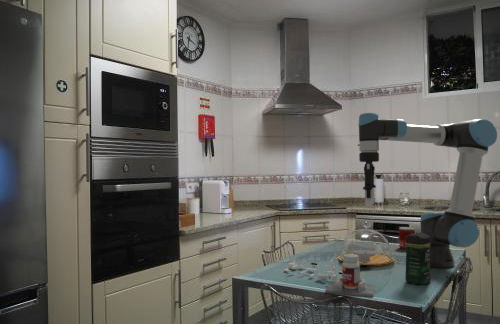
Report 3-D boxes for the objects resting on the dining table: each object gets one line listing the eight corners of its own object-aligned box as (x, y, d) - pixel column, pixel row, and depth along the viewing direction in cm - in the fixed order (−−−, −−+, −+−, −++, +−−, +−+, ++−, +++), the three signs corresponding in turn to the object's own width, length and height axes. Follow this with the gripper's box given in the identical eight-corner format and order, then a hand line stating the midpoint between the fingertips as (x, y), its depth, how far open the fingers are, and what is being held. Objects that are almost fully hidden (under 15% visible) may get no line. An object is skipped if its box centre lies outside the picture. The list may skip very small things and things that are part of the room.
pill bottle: (338, 287, 144) (338, 255, 144) (348, 283, 148) (348, 252, 148) (353, 290, 139) (353, 258, 140) (363, 287, 144) (362, 255, 144)
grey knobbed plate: (375, 287, 147) (374, 277, 147) (373, 297, 135) (373, 286, 135) (330, 283, 152) (330, 274, 152) (325, 292, 141) (325, 282, 141)
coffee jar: (424, 286, 146) (423, 235, 147) (402, 282, 152) (401, 233, 152) (434, 281, 153) (433, 232, 154) (413, 277, 159) (412, 230, 159)
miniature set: (360, 277, 155) (341, 288, 147) (295, 268, 181) (275, 277, 173) (358, 260, 155) (338, 271, 147) (292, 254, 181) (273, 262, 173)
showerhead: (355, 251, 174) (351, 247, 184) (355, 268, 174) (351, 263, 184) (377, 252, 174) (372, 247, 183) (377, 268, 173) (372, 263, 183)
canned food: (413, 250, 211) (413, 229, 211) (397, 248, 216) (397, 228, 216) (416, 247, 218) (416, 227, 218) (401, 246, 222) (400, 226, 222)
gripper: (361, 153, 174) (362, 202, 173) (356, 151, 150) (357, 207, 150) (379, 152, 171) (380, 202, 171) (377, 150, 148) (378, 208, 147)
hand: (369, 205), depth 160 cm, fingers open, 13 cm apart
